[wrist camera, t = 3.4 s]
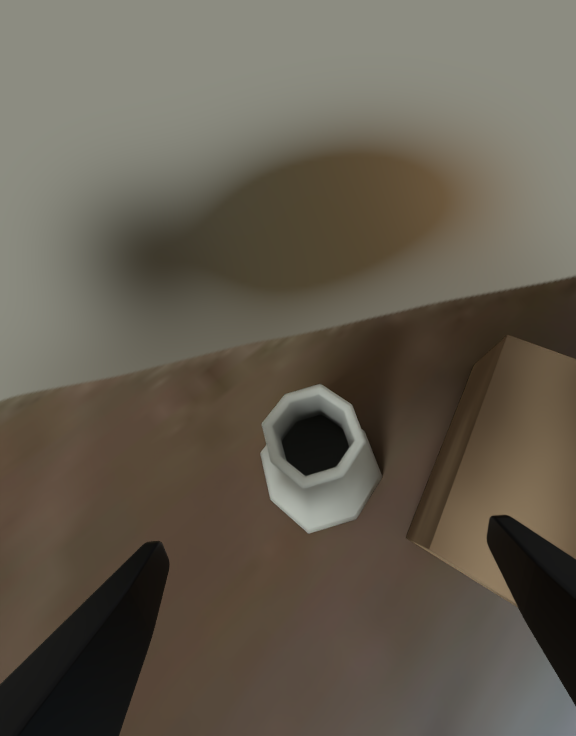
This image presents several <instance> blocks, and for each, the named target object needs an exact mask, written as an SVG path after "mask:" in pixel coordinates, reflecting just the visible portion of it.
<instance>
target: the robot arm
mask: <svg viewBox="0 0 576 736" xmlns="http://www.w3.org/2000/svg"><path fill="white" fill-rule="evenodd" d="M487 544H488V547H489V549H490V551H491V553H492V555H493V557H494V559H495V561H496V563H497V565H498V568H499V570H500V572H501V574H502V576H503V578H504V580H505V582H506V584H507V586H508V588H509V590H510V592H511V594H512V596H513V598H514V600H515V602H516V604H517V606H518V608H519V610H520V612H521V614H522V616H523V618H524V620H525V621H526V623H527V625H528V627H529V628H530V630H531V632H532V633H533V635H534V637H535V638H536V640H537V642H538V643H539V645H540V647H541V648H542V650H543V652H544V654H545V655H546V657H547V659H548V660H549V662H550V664H551V665H552V667H553V669H554V670H555V672H556V674H557V675H558V677H559V679H560V680H561V682H562V684H563V685H564V687H565V689H566V690H567V692H568V694H569V696H570V697H571V699H572V701H573V702H574V704H575V706H576V559H575V558H573V557H572V556H570V555H569V554H567V553H566V552H564V551H563V550H561V549H560V548H558V547H557V546H555V545H554V544H552V543H550V542H549V541H547V540H546V539H544V538H543V537H541V536H540V535H538V534H537V533H535V532H534V531H532V530H531V529H529V528H528V527H526V526H525V525H523V524H522V523H520V522H518V521H517V520H515V519H514V518H512V517H511V516H508V515H493V516H491V517H490V518H489V523H488V530H487ZM168 571H169V559H168V556H167V554H166V551H165V549H164V546H163V544H162V542H160V541H151V542H146V543H145V544H143V545H142V546H141V547H140V548H139V549H138V550H137V551H136V552H135V553H134V554H133V555H132V556H131V557H130V558H129V559H128V560H127V561H126V562H125V563H124V564H123V565H122V566H121V567H120V568H119V569H118V570H117V571H116V572H115V573H114V574H113V575H112V576H110V577H109V578H108V579H107V580H106V581H105V582H104V583H103V584H102V585H101V586H100V587H99V588H98V589H97V590H96V591H95V592H94V593H93V594H92V595H91V596H90V597H89V598H88V599H87V600H86V601H85V602H84V603H83V604H82V605H81V606H80V607H79V608H78V609H77V610H76V611H75V612H74V613H73V614H72V615H71V616H70V617H69V618H68V619H67V620H66V621H64V622H63V623H62V624H61V625H60V626H59V627H58V628H57V629H56V630H55V631H54V632H53V633H52V634H51V635H50V636H49V637H48V638H47V639H46V640H45V641H44V642H43V643H42V644H41V645H40V646H39V647H38V648H37V649H36V650H35V651H34V652H33V653H32V654H31V655H30V656H29V657H28V658H27V659H26V660H25V661H24V662H23V663H22V664H21V665H20V666H18V667H17V668H16V669H15V670H14V671H13V672H12V673H11V674H10V675H9V676H8V677H7V678H6V679H5V680H4V681H3V682H2V683H1V684H0V736H119V734H120V731H121V728H122V725H123V722H124V719H125V716H126V713H127V710H128V707H129V704H130V701H131V698H132V695H133V692H134V689H135V686H136V683H137V680H138V677H139V674H140V671H141V668H142V665H143V662H144V660H145V657H146V654H147V651H148V648H149V644H150V641H151V638H152V635H153V631H154V628H155V624H156V620H157V616H158V612H159V608H160V604H161V600H162V596H163V592H164V588H165V584H166V580H167V575H168Z"/></svg>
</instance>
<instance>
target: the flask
mask: <svg viewBox="0 0 576 736" xmlns="http://www.w3.org/2000/svg"><path fill="white" fill-rule="evenodd" d="M262 427H263V432H264V436H265V440H266V444H267V445H266V446H265V447H264V449H263V450H262V451H261V453H260V455H261V459H262V464H263V468H264V473H265V477H266V482H267V486H268V491H269V495H270V500H271V501H272V502H274V503H275V504H276V505H277V506H278V507H279V508H280V509H281V510H283V511H284V512H285V513H286V514H287V515H288V516H289V517H290V518H292V519H293V520H294V521H295V522H296V523H297V524H298V525H299V526H301V527H302V528H303V529H304V530H305V531H306V532H307V533H308V534H309V533H312V532H315V531H319V530H322V529H325V528H329V527H332V526H335V525H339V524H342V523H345V522H349V521H352V520H355V519H357V517H358V516H359V514H360V512H361V511H362V509H363V508H364V506H365V504H366V503H367V501H368V500H369V498H370V496H371V495H372V493H373V492H374V490H375V488H376V487H377V485H378V483H379V482H380V480H381V479H382V474H381V472H380V469H379V467H378V464H377V461H376V459H375V456H374V454H373V451H372V449H371V446H370V443H369V441H368V438H367V436H366V433H365V431H364V430H362V429H361V427H360V424H359V422H358V419H357V416H356V414H355V411H354V409H353V406H352V404H350V403H349V402H347V401H346V400H344V399H343V398H341V397H340V396H338V395H337V394H335V393H334V392H332V391H331V390H329V389H328V388H326V387H325V386H323V385H321V384H318V385H314V386H311V387H308V388H304V389H301V390H298V391H294V392H291V393H288V394H285V395H284V396H283V397H282V399H281V400H280V401H279V403H278V404H277V405H276V406H275V408H274V409H273V410H272V411H271V413H270V414H269V415H268V416H267V418H266V419H265V420H264V421H263V423H262Z"/></svg>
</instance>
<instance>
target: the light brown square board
mask: <svg viewBox="0 0 576 736" xmlns="http://www.w3.org/2000/svg"><path fill="white" fill-rule="evenodd" d="M493 515H508V516H511V517H512V518H514V519H515V520H517V521H518V522H520V523H522V524H523V525H525V526H526V527H528V528H529V529H531V530H532V531H534V532H535V533H537V534H538V535H540V536H541V537H543V538H544V539H546V540H547V541H549V542H550V543H552V544H554V545H555V546H557V547H558V548H560V549H561V550H563V551H564V552H566V553H567V554H569V555H570V556H572V557H573V558H575V559H576V359H574V358H571V357H568V356H566V355H563V354H560V353H557V352H555V351H552V350H549V349H546V348H543V347H541V346H538V345H535V344H532V343H530V342H527V341H524V340H521V339H518V338H516V337H513V336H510V335H507V336H505V337H504V338H503V339H502V340H501V341H500V342H499V343H498V344H497V345H495V346H494V347H493V348H492V349H491V350H490V351H489V352H488V353H487V354H485V355H484V356H483V357H482V358H481V359H480V360H479V361H478V362H477V363H475V364H474V366H473V369H472V371H471V374H470V376H469V379H468V381H467V384H466V386H465V389H464V391H463V394H462V397H461V399H460V402H459V404H458V407H457V409H456V412H455V414H454V417H453V419H452V422H451V424H450V427H449V430H448V432H447V435H446V437H445V440H444V442H443V445H442V447H441V450H440V452H439V455H438V457H437V460H436V462H435V465H434V468H433V470H432V473H431V475H430V478H429V480H428V483H427V485H426V488H425V490H424V493H423V495H422V498H421V501H420V503H419V506H418V508H417V511H416V513H415V516H414V518H413V521H412V523H411V526H410V528H409V531H408V534H407V536H406V538H407V539H408V540H410V541H411V542H413V543H415V544H416V545H418V546H419V547H421V548H423V549H424V550H426V551H428V552H429V553H431V554H432V555H434V556H436V557H437V558H439V559H440V560H442V561H444V562H445V563H447V564H449V565H450V566H452V567H453V568H455V569H457V570H458V571H460V572H461V573H463V574H465V575H466V576H468V577H470V578H471V579H473V580H474V581H476V582H478V583H479V584H481V585H482V586H484V587H486V588H487V589H489V590H491V591H492V592H494V593H495V594H497V595H499V596H500V597H502V598H503V599H505V600H507V601H508V602H510V603H512V604H513V605H515V606H516V607H518V606H517V604H516V602H515V600H514V598H513V596H512V594H511V592H510V590H509V588H508V586H507V584H506V582H505V580H504V578H503V576H502V574H501V572H500V570H499V568H498V565H497V563H496V561H495V559H494V557H493V555H492V553H491V551H490V549H489V547H488V544H487V530H488V523H489V518H490V517H491V516H493Z"/></svg>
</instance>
